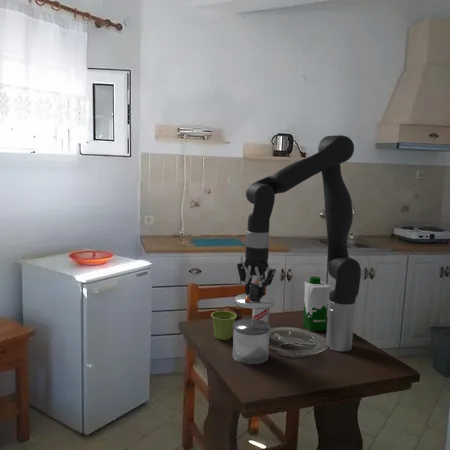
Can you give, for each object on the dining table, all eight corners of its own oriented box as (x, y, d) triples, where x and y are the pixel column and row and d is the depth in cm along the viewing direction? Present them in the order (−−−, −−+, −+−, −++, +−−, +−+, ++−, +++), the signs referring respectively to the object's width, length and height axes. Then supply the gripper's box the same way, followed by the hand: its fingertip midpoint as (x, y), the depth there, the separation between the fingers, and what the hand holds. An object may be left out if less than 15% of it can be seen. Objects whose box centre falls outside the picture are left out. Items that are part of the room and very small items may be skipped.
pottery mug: (212, 323, 196) (219, 304, 199) (232, 331, 200) (238, 312, 202) (226, 325, 186) (233, 305, 188) (246, 334, 189) (253, 314, 191)
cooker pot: (244, 346, 173) (246, 316, 172) (275, 355, 166) (277, 324, 164) (224, 357, 163) (225, 326, 161) (256, 368, 156) (258, 335, 154)
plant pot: (227, 331, 187) (227, 309, 186) (240, 339, 179) (241, 317, 178) (205, 335, 182) (206, 312, 181) (218, 344, 174) (219, 320, 173)
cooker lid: (247, 294, 170) (248, 277, 169) (280, 302, 163) (282, 284, 162) (226, 303, 159) (227, 284, 158) (261, 311, 152) (262, 292, 151)
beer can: (267, 342, 177) (269, 300, 175) (250, 340, 178) (252, 298, 176) (269, 336, 183) (271, 295, 181) (252, 334, 185) (254, 293, 182)
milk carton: (319, 323, 200) (322, 275, 197) (329, 331, 191) (333, 281, 188) (299, 324, 197) (302, 276, 194) (309, 332, 189) (312, 282, 186)
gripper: (282, 246, 157) (279, 297, 160) (245, 240, 165) (242, 289, 168) (270, 249, 151) (267, 303, 154) (232, 243, 159) (230, 294, 162)
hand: (254, 295), depth 161 cm, fingers closed on cooker lid, 4 cm apart
